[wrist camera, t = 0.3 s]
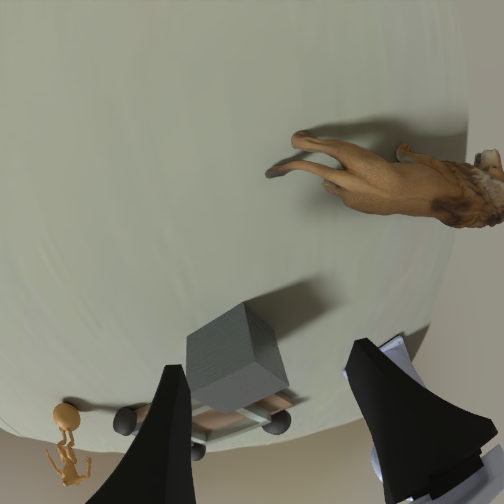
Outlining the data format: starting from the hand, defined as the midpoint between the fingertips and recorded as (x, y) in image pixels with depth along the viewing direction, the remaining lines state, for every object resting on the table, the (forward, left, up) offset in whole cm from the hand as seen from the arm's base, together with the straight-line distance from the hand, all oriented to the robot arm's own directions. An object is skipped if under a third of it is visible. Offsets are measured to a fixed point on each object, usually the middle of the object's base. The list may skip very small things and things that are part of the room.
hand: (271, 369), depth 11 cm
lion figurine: (0, -11, -10) cm, 15 cm away
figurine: (-5, +33, -10) cm, 35 cm away
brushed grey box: (-6, +6, -10) cm, 13 cm away
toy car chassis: (-15, +18, -10) cm, 25 cm away
